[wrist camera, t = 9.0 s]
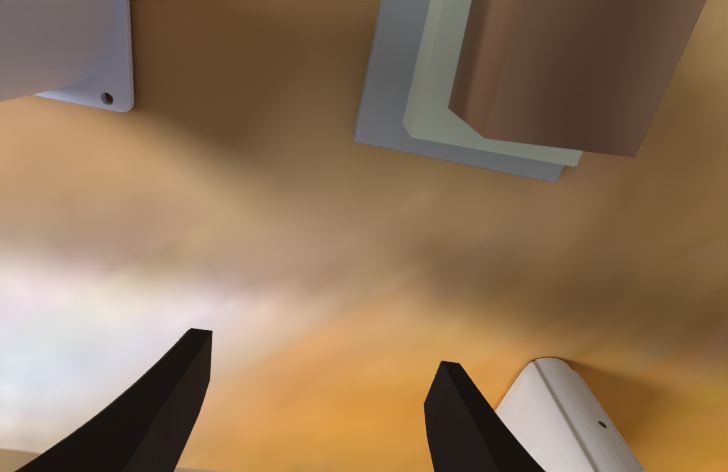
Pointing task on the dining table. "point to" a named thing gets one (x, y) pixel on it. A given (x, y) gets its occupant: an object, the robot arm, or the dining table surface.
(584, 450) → the photo printer
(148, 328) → the dining table surface
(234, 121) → the dining table surface
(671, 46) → the walnut cube
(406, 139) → the tower base slab
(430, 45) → the tower top slab
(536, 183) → the dining table surface
